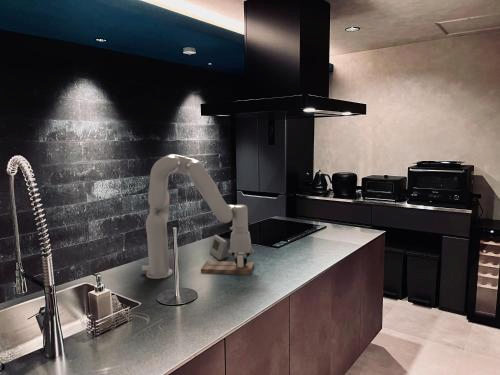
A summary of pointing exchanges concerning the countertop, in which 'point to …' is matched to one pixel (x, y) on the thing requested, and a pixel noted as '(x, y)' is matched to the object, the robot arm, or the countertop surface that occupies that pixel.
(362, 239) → the countertop surface
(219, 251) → the digital clock
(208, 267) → the console board
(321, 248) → the countertop surface
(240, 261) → the fader knob
